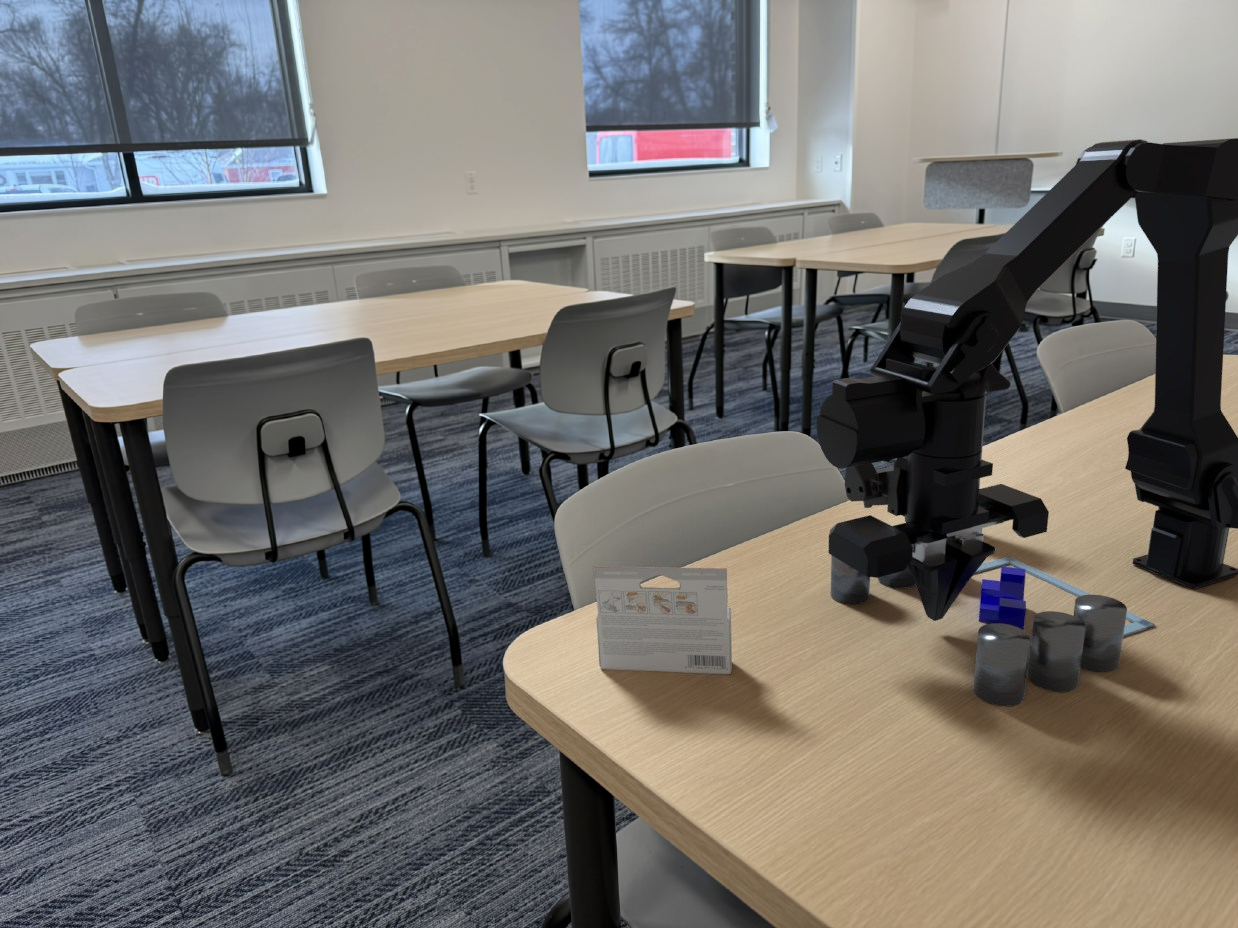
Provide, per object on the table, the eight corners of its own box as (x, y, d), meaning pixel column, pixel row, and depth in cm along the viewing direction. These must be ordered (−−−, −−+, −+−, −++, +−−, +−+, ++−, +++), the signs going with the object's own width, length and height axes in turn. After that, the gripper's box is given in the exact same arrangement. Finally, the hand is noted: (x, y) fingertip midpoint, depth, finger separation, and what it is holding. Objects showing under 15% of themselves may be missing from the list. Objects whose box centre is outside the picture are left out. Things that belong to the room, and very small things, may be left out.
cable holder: (980, 603, 80) (983, 564, 78) (1021, 608, 78) (1025, 568, 77) (976, 645, 73) (979, 603, 72) (1021, 651, 71) (1025, 608, 70)
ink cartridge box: (604, 656, 74) (597, 553, 71) (732, 661, 72) (730, 555, 69) (599, 671, 72) (591, 566, 69) (731, 677, 70) (729, 569, 67)
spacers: (930, 560, 88) (933, 516, 87) (1135, 668, 68) (1143, 611, 66) (820, 589, 84) (820, 542, 82) (1003, 714, 63) (1009, 655, 62)
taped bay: (1009, 558, 88) (1009, 556, 88) (1154, 626, 74) (1154, 623, 74) (947, 574, 85) (947, 572, 85) (1086, 648, 71) (1086, 646, 71)
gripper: (961, 409, 80) (951, 561, 85) (791, 442, 74) (791, 604, 78) (1061, 437, 70) (1043, 607, 75) (874, 479, 64) (868, 662, 69)
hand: (934, 617), depth 74 cm, fingers closed
